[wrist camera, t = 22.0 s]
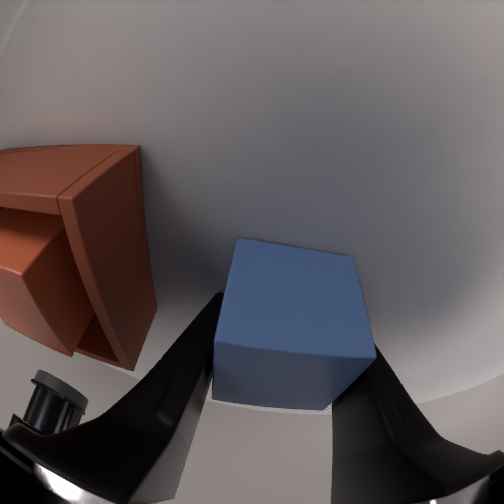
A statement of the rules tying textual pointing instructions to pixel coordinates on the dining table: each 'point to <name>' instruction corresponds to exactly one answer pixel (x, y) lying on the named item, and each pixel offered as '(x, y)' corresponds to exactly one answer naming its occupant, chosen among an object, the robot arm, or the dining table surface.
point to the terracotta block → (41, 280)
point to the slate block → (290, 328)
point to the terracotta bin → (94, 234)
